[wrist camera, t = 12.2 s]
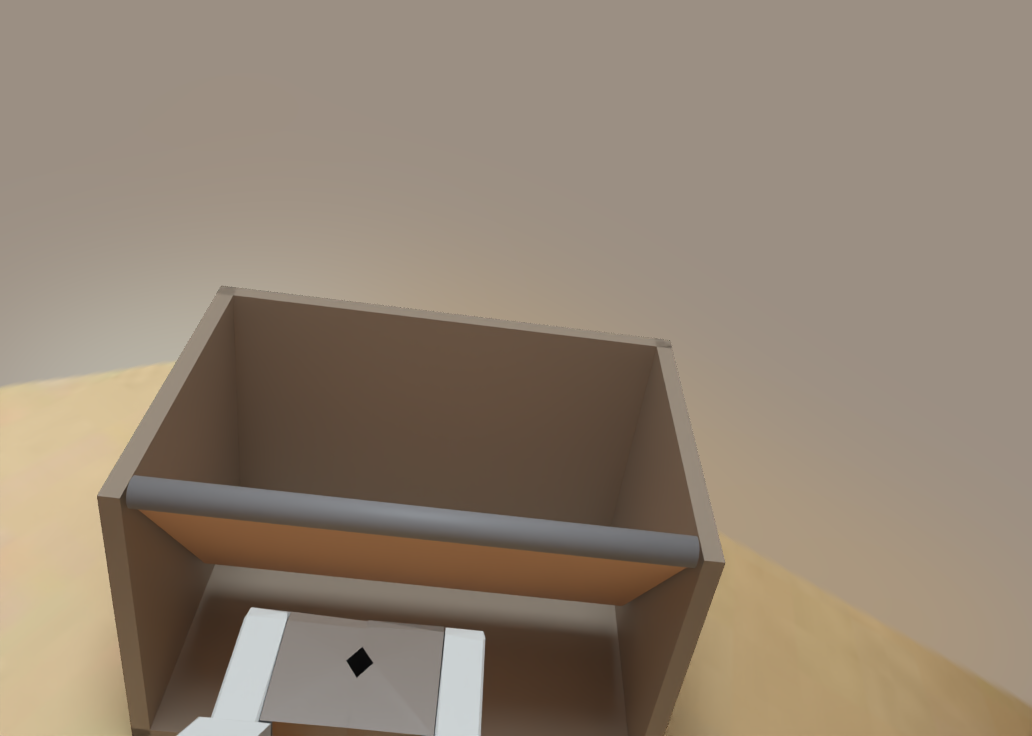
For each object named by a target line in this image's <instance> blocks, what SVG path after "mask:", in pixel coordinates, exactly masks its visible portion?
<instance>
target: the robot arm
mask: <svg viewBox="0 0 1032 736" xmlns="http://www.w3.org/2000/svg"><path fill="white" fill-rule="evenodd" d="M484 655H485V635H484V632H483V631H476V630H466V629H456V628H445V630H444V627H442V626H430V625H419V624H407V623H396V622H385V621H373V620H368V621H362V620H354V619H346V618H338V617H330V616H322V615H314V614H306V613H299V612H288V611H279V610H271V609H262V608H253V607H251V608H250V610H249V611H248V613H247V615H246V616H245V618H244V620H243V623H242V626H241V629H240V632H239V635H238V638H237V641H236V644H235V647H234V650H233V653H232V656H231V659H230V662H229V665H228V668H227V671H226V674H225V677H224V680H223V683H222V686H221V689H220V692H219V695H218V698H217V701H216V704H215V707H214V710H213V713H212V716H211V717H198V718H197V719H195V720H194V721H193V722H192V723H191V724H190V725H188V726H187V727H186V728H185V729H184V730H182V731H181V732H180V733H179V734H178V735H177V736H481V718H482V697H483V676H484Z"/></svg>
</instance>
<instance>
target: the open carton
mask: <svg viewBox="0 0 1032 736" xmlns="http://www.w3.org/2000/svg"><path fill="white" fill-rule="evenodd" d="M134 475H137V476H146V477H155V478H165V479H174V480H183V481H192V482H202V483H211V484H220V485H229V486H239V487H248V488H257V489H266V490H276V491H285V492H294V493H303V494H313V495H322V496H331V497H340V498H350V499H359V500H368V501H377V502H387V503H396V504H405V505H414V506H424V507H433V508H442V509H451V510H461V511H470V512H479V513H488V514H498V515H507V516H516V517H525V518H535V519H544V520H553V521H562V522H572V523H581V524H590V525H599V526H609V527H618V528H627V529H636V530H646V531H655V532H664V533H673V534H683V535H692V536H697V537H698V540H699V559H698V563H697V566H696V567H695V568H685V569H683V570H682V571H680V572H678V573H677V574H675V575H673V576H672V577H670V578H668V579H667V580H665V581H663V582H662V583H660V584H658V585H657V586H655V587H653V588H652V589H650V590H648V591H647V592H645V593H643V594H642V595H640V596H638V597H637V598H635V599H633V600H632V601H630V602H628V603H627V604H625V605H623V606H615V605H606V604H596V603H586V602H576V601H567V600H557V599H547V598H537V597H528V596H518V595H508V594H498V593H489V592H479V591H469V590H459V589H450V588H440V587H430V586H421V585H411V584H401V583H391V582H382V581H372V580H362V579H352V578H343V577H333V576H323V575H313V574H304V573H294V572H284V571H274V570H265V569H255V568H245V567H235V566H226V565H216V564H206V563H204V562H203V561H201V560H200V559H199V558H198V557H196V556H195V555H194V554H193V553H191V552H190V551H189V550H188V549H187V548H185V547H184V546H183V545H182V544H180V543H179V542H178V541H177V540H175V539H174V538H173V537H172V536H170V535H169V534H168V533H167V532H165V531H164V530H163V529H162V528H160V527H159V526H158V525H157V524H155V523H154V522H153V521H152V520H150V519H149V518H148V517H147V516H146V515H144V514H143V513H142V512H141V511H139V510H138V509H129V508H128V507H127V504H126V493H127V488H128V485H129V482H130V480H131V478H132V477H133V476H134ZM97 500H98V506H99V513H100V520H101V527H102V533H103V540H104V547H105V553H106V560H107V567H108V574H109V580H110V587H111V594H112V601H113V607H114V614H115V621H116V628H117V634H118V641H119V648H120V655H121V661H122V668H123V675H124V682H125V688H126V695H127V702H128V709H129V715H130V722H131V729H132V736H177V735H178V734H179V733H180V732H181V731H182V730H184V729H185V728H186V727H187V726H188V725H190V724H191V723H192V722H193V721H194V720H195V719H197V718H198V717H211V716H212V713H213V710H214V707H215V704H216V701H217V698H218V695H219V692H220V689H221V686H222V683H223V680H224V677H225V674H226V671H227V668H228V665H229V662H230V659H231V656H232V653H233V650H234V647H235V644H236V641H237V638H238V635H239V632H240V629H241V626H242V623H243V620H244V618H245V616H246V615H247V613H248V611H249V610H250V608H251V607H253V608H262V609H271V610H279V611H288V612H299V613H306V614H314V615H322V616H330V617H338V618H346V619H354V620H362V621H368V620H373V621H385V622H396V623H407V624H419V625H430V626H442V627H444V630H445V628H456V629H466V630H476V631H483V632H484V635H485V655H484V676H483V697H482V718H481V736H664V734H665V731H666V728H667V725H668V722H669V720H670V717H671V714H672V711H673V708H674V706H675V703H676V700H677V697H678V694H679V691H680V689H681V686H682V683H683V680H684V677H685V675H686V672H687V669H688V666H689V663H690V661H691V658H692V655H693V652H694V649H695V647H696V644H697V641H698V638H699V635H700V633H701V630H702V627H703V624H704V621H705V618H706V616H707V613H708V610H709V607H710V604H711V602H712V599H713V596H714V593H715V590H716V588H717V585H718V582H719V579H720V576H721V574H722V571H723V568H724V565H725V559H724V555H723V551H722V547H721V543H720V539H719V535H718V531H717V527H716V523H715V519H714V515H713V511H712V507H711V503H710V499H709V495H708V491H707V487H706V483H705V479H704V475H703V471H702V467H701V463H700V459H699V455H698V451H697V447H696V443H695V439H694V435H693V431H692V427H691V422H690V418H689V414H688V411H687V406H686V402H685V398H684V394H683V390H682V386H681V382H680V379H679V374H678V371H677V366H676V362H675V358H674V354H673V350H672V346H671V342H670V340H664V339H656V338H647V337H639V336H630V335H623V334H614V333H606V332H597V331H589V330H581V329H573V328H565V327H557V326H548V325H540V324H532V323H524V322H516V321H508V320H500V319H491V318H483V317H475V316H467V315H458V314H449V313H442V312H434V311H425V310H417V309H409V308H401V307H393V306H384V305H376V304H368V303H360V302H351V301H343V300H335V299H327V298H319V297H310V296H302V295H293V294H286V293H278V292H269V291H261V290H253V289H244V288H236V287H228V286H221V287H220V289H219V290H218V292H217V294H216V296H215V297H214V299H213V301H212V302H211V304H210V306H209V307H208V309H207V311H206V312H205V314H204V316H203V318H202V319H201V321H200V323H199V324H198V326H197V328H196V329H195V331H194V333H193V335H192V336H191V338H190V340H189V341H188V343H187V345H186V346H185V348H184V350H183V351H182V353H181V355H180V357H179V358H178V360H177V361H176V363H175V365H174V367H173V368H172V370H171V372H170V373H169V375H168V377H167V378H166V380H165V382H164V383H163V385H162V387H161V389H160V390H159V392H158V394H157V395H156V397H155V399H154V400H153V402H152V404H151V405H150V407H149V409H148V410H147V412H146V414H145V416H144V417H143V419H142V421H141V422H140V424H139V426H138V427H137V429H136V431H135V432H134V434H133V436H132V438H131V439H130V441H129V443H128V444H127V446H126V448H125V449H124V451H123V453H122V454H121V456H120V458H119V459H118V461H117V463H116V465H115V466H114V468H113V470H112V471H111V473H110V475H109V476H108V478H107V480H106V481H105V483H104V485H103V487H102V488H101V490H100V492H99V493H98V495H97Z"/></svg>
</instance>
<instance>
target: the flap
mask: <svg viewBox="0 0 1032 736" xmlns="http://www.w3.org/2000/svg"><path fill="white" fill-rule="evenodd" d="M126 504H127V507H128V508H129V509H138V510H139V511H141V512H142V513H143V514H144V515H146V516H147V517H148V518H149V519H150V520H152V521H153V522H154V523H155V524H157V525H158V526H159V527H160V528H162V529H163V530H164V531H165V532H167V533H168V534H169V535H170V536H172V537H173V538H174V539H175V540H177V541H178V542H179V543H180V544H182V545H183V546H184V547H185V548H187V549H188V550H189V551H190V552H191V553H193V554H194V555H195V556H196V557H198V558H199V559H200V560H201V561H203V562H204V563H206V564H216V565H226V566H235V567H245V568H255V569H265V570H274V571H284V572H294V573H304V574H313V575H323V576H333V577H343V578H352V579H362V580H372V581H382V582H391V583H401V584H411V585H421V586H430V587H440V588H450V589H459V590H469V591H479V592H489V593H498V594H508V595H518V596H528V597H537V598H547V599H557V600H567V601H576V602H586V603H596V604H606V605H615V606H623V605H625V604H627V603H628V602H630V601H632V600H633V599H635V598H637V597H638V596H640V595H642V594H643V593H645V592H647V591H648V590H650V589H652V588H653V587H655V586H657V585H658V584H660V583H662V582H663V581H665V580H667V579H668V578H670V577H672V576H673V575H675V574H677V573H678V572H680V571H682V570H683V569H685V568H695V567H696V566H697V563H698V559H699V540H698V537H697V536H692V535H683V534H673V533H664V532H655V531H646V530H636V529H627V528H618V527H609V526H599V525H590V524H581V523H572V522H562V521H553V520H544V519H535V518H525V517H516V516H507V515H498V514H488V513H479V512H470V511H461V510H451V509H442V508H433V507H424V506H414V505H405V504H396V503H387V502H377V501H368V500H359V499H350V498H340V497H331V496H322V495H313V494H303V493H294V492H285V491H276V490H266V489H257V488H248V487H239V486H229V485H220V484H211V483H202V482H192V481H183V480H174V479H165V478H155V477H146V476H137V475H134V476H133V477H132V478H131V480H130V482H129V485H128V488H127V493H126Z"/></svg>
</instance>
